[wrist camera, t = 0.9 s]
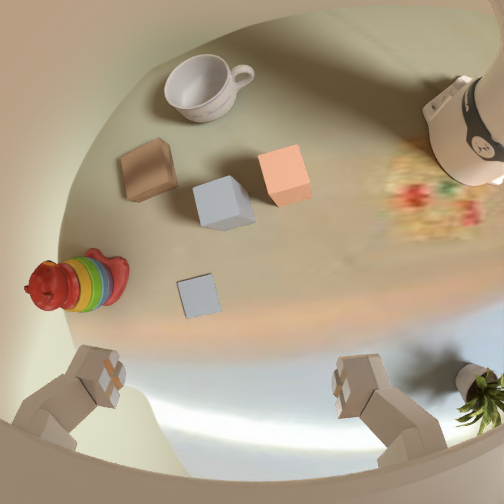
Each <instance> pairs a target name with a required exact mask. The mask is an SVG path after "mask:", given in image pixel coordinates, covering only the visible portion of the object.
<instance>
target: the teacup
mask: <svg viewBox="0 0 504 504" xmlns="http://www.w3.org/2000/svg"><path fill="white" fill-rule="evenodd" d="M240 73H247V74H248V75H247V76H246V77H244V78H243V79H241V80H240V81H238V82H235V77H236V75H238V74H240ZM254 75H255V74H254V70H253V69H252V68H251V67H250V66H248V65H238V66H236V67H234V68H233V69H231V70H229V67H228V65H227V63H226V62H225V60H224V59H222V58H221V57H219V56H216V55H212V54H202V55H197V56H194V57H191V58H189V59H187V60H185V61H183V62H182V63H180V64H179V65H178V66H177V67H176V68H175V69H174V70H173V71H172V72H171V74H170V75H169V77H168V79H167V81H166V83H165V88H164V94H165V98H166V100H167V102H168V103H169V104H170V105H171V106H173V107H174V108H175V109H176V110H177V111H178V112H179V113H181V114H182V115H183V116H184V117H185V118H187V119H189V120H191V121H194V122H201V123H202V122H210V121H213V120H216V119H218V118H220V117H222V116H223V115H225V114H226V113H227V112H228V111H229V110H230V109H231V107H232V106H233V104H234V102H235V100H236V96H237V92H238V91H240V90H241V88H243V87H244V86H246V85H247V84H249V83H250V82H251V81H252V80H253V79H254Z"/></svg>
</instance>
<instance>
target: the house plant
mask: <svg viewBox="0 0 504 504" xmlns="http://www.w3.org/2000/svg"><path fill="white" fill-rule="evenodd" d="M500 385H501V388H498V386H500ZM503 386H504V374H503V375H502V374H501V377H500V378H498V375H497V373H496V372H495V371H493V370H490V369H489V368H484V367H481V366H479V365H476V364H468V365H466V366H464V367H463V368H462V369H461V370H460V371H459V373H458V375H457V377H456V387H457V388H458V390H459V392H460V394H461V396H462V398H463V400H464V402H465V405H464V406H463V407H461V408H459V409H458V410H459V411H460V412H468V411H469V410H471V409H473V411H472V412H471V413H469V414H467V415H465V416H463V417H461V418H459V419H455V420H457V421H459V422H466V421H468V420H469V419H471V418H472V417H474V416H476V418H475V420H474V421H473V422H471V423H468V424H464V425H460V426H468V425H471V424H473V423H475V422H476V421H477V420H479V419H480V418H481V417H482V415H483V414H484V415H483V419H482V421H481V425H480V430H479V433H478V434H477V436H478V435H480V434H482V432H483V429H484V428H485V424H486V426H487V425H488V424H489V423H490V422H491V419H492V422H493V426H492V429H493V428H495V427H497V426H499V425H501V418H500V414H499V412H498V411H497V406H498V407H499V408H500V409H501V410H503V412H504V403H503V402H501V401H504V391H500V390H501V389H503V388H504V387H503ZM497 389H499V390H497ZM500 400H501V401H500ZM496 405H497V406H496ZM456 427H459V426H456Z"/></svg>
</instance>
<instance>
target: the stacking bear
mask: <svg viewBox="0 0 504 504" xmlns="http://www.w3.org/2000/svg"><path fill="white" fill-rule="evenodd" d="M128 275H129V265H128V264H127V261H126V260H125V259H123V258H122V257H116V258H114V259H108V258H106V257H104V256H103V255H102V253H101V252H100V251H99V250H98V249H90V250H89V251H88V252H87V253H86V254H85V257H75V258H71V259H69V260H66V261H64V262H62V263H59V264H56V263H54V262H52V261H50V260H48V261H45V262H43V263H41V264H40V265H39V266H38V267H37V268H36V269H35V271H34V272H33V273H32V275H31V277H30V280H29V285H27V286H24V290H25V291H26V293H28V294H30V296H31V299H32V300H33V302H34V304H35V305H36V306H37V307H39V308H40V309H42V310H45V311H52V310H55V309H57V308H59V307H61V308H62V309H64V310H66V311H70V312H89V311H92V310H95V309H97V308H98V307H100V306H101V305H104V306H107V305H111V304H113V303H115V302H116V301H117V300H118V299H119V298H120V296H121V295H122V293H123V291H124V289H125V287H126V284H127V280H128Z"/></svg>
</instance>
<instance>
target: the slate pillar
mask: <svg viewBox="0 0 504 504" xmlns="http://www.w3.org/2000/svg"><path fill="white" fill-rule="evenodd" d="M193 193H194V197H195V202H196V206H197V210H198V215H199V219H200V223H201V226H202V227H207V228H212V229H216V230H221V231H228V230H231V229H234V228H238V227H241V226H245V225H248V224H252V223H255V222H256V221H255V217H254V213H253V209H252V206H251V202H250V198H249V194H248V191H247V190H246V189H245V188H244V187H243V186H241V185H240V184H239V183H238V182H237V181H236V180H235V179H234V178H233V177H231V176H230V175H229V176H226V177H223V178H220V179H217V180H214V181H211V182H208V183H205V184H202V185H199V186H196V187H193Z"/></svg>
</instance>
